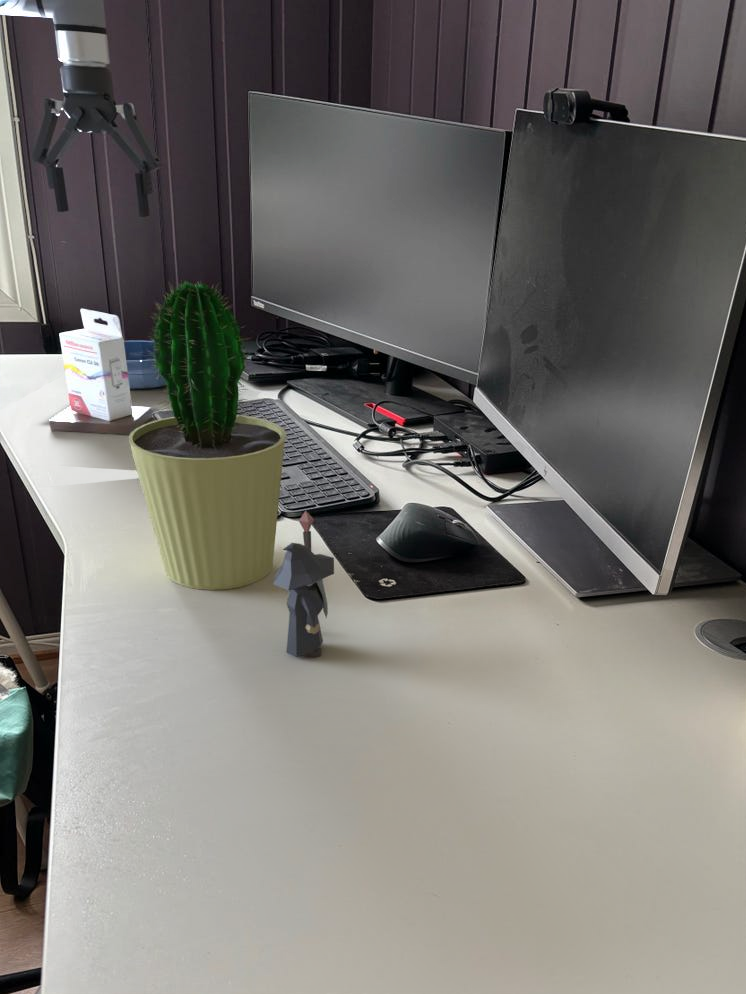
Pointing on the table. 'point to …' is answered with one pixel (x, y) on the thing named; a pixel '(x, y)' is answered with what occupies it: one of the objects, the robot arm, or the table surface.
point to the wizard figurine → (304, 592)
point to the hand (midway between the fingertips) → (103, 214)
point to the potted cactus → (208, 451)
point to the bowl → (142, 365)
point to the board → (100, 422)
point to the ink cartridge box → (97, 368)
